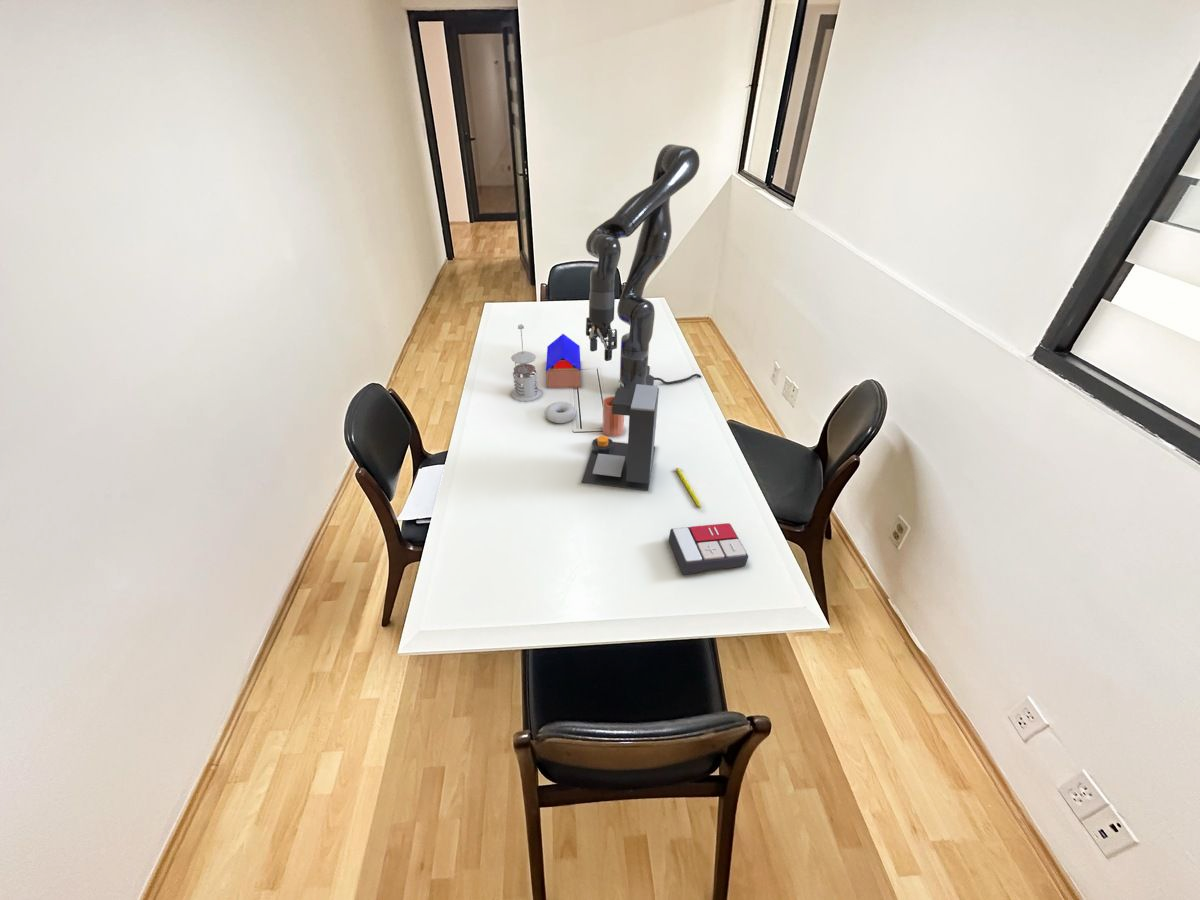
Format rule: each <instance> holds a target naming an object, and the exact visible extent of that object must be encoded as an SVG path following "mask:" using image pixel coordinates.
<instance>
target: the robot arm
mask: <svg viewBox="0 0 1200 900" xmlns="http://www.w3.org/2000/svg"><path fill="white" fill-rule="evenodd" d="M700 162H701V160H700V155H699V153H698V151H697V150H696V149H695V148H694V147H691V146H687V145H680V144H674V143H670V144H665V145H664V146H663V147H662V148H661V149H660V150H659V153H658V155H657V157H656V161H655V165H654V170H653V174H652V175H653V176H652V181H651V184H650V185H649V186H648V187H646V188H644V189H642V190H640V191H639V192H637V193H636V194H634V195H633V196H631V197H629V199H628V200H626V202H624V204H623V205H622V206H621V207H620V208H619V209H618V210H617V211H616V212H615V214H614V215H613V216H611V217H610V218H609V219H607V220H605V221H604V222H602V223H601V224H600V225H598V226H597V227H596V228H594V229H593V230H592V231H591V232H590V234H589V235H588V237H587V238H586V242H585V248H586V249H585V250H586V252H587V253H588V254H589V255H590V256H591V257H594V258H596V259H598V263H597V266H595V267H593V268H592V269H591V271H590V275H589V276H590V279H589V281H590V282H589V295H588V317H586V318H585V319H586V320H585V321H586V322H585V335H586V337H588V339H589V351H590V352H597V350H598V339H600V342H601V343H602V344H603V347H604V357H603V358H604V361H605V362H610V361H612V359H613V350H617V348H618V330H617V329H616V328H614V329H612V327H611V326H612V325H611V324H612V322H613V321H614V319H615V300H616V298H615V297H616V295H615V281H616V279H615V278H616V277H615V275H616V272H617V269H618V265H619V261H620V259H621V252H622V248H621V243H620V240H619V239H624V238H625V239H626V238H629V237H631V236H632V234H634V233H635V231H636V230H637V229H638V228H639V227H640V226H641V229H640V232H639V234H638V235H639V237H638V240H637V243H636V246H635V247H636V248H635V251H634V255H633V259H632V263H631V264H630V265H631V266H630V269H629V272H628V276H627V279H626V281H625V284H624V287H623V289H622V293H621V294H620V297H619V300H618V304H617V309H616V311H617V312H616V313H617V317H618V319H619V320H620V321H621V322H623V323H625V324H626V325H629V332H627V333H625V334H623V335H622V336H621V338H620V339H621V340H620V358H619V359H620V360H619V379H618V384H619V386H618V388H623V389H634V390H635V387H636V384H640V385H651V386H655V385H654V384H655V381H659V382H661V383H663V385H664V384H665V385H673V384H678V383H682V382H686V381H689V380H691V379H693V378H694V377H697V378H702V375H701V374H699V373H694V374H691V375H690V376H688V377H685V378H682V379H678V380H672V381H666V380H664V378H661V377H655V376H653V375H651V373H650V371H651V367H650V365H649V354H650V353H649V352H650V342H651V340H652V338H653V332H654V325H655V318H656V317H655V316H656V314H655V312H656V311H655V306H654V304H653V303H652V301H650V300H649V299H646V298H644V297H643V294H644V290H645V287H646V284H647V282H648V281H649V278H650V277H651V276H652V274H653V273H654V272H655V271H656V270H657V269H658V268H659V266H660V265H661V264H662V263H663V261H664V260H665V258H666V256H667V252H668V249H669V246H670V242H671V239H672V233H673V225H672V217H671V209H670V202H671V197H673V196H674V195H676V193H678V192H679V191H680V190H681V189H683V188H684V187H685V186H686V185H688V184H689V183H690V182H691V181H692V180H693V179H694V178H695V176H696V175H697V173H698V172H699V170H700V169H699V168H700Z"/></svg>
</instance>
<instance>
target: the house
mask: <svg viewBox="0 0 1200 900" xmlns="http://www.w3.org/2000/svg"><path fill="white" fill-rule="evenodd" d="M581 363H582V362H581V347H580V345H579V344H578V343H576V342H575V341H574V340H573V339H571V338H570V337H568V336H567V335H566V334H565V333H562V334H561V335H559V336H558V337H557V338H556V339H554V341H553V342H551V343H550V344H549V345H547V348H546V362H545V372H546V377H547V378H546V380H547V382H546V383H547V389H560V388H561V389H565V388H566V389H567V388H569V389H570V388H581V371H582V367H581V366H582V364H581Z"/></svg>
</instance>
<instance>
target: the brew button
mask: <svg viewBox="0 0 1200 900" xmlns="http://www.w3.org/2000/svg"><path fill="white" fill-rule="evenodd" d="M596 438H597V445H598V446H600V447H606V446H608V438H609V436H607V435H605V434H604V435H603V434H602V435H599V436H597V437H596Z"/></svg>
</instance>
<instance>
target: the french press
mask: <svg viewBox="0 0 1200 900" xmlns="http://www.w3.org/2000/svg"><path fill="white" fill-rule="evenodd" d="M517 329H518V330H520V337H521V340H523V331H522V330H523V329H525V326H524V324H518V325H517ZM521 349H522V350H521V351H518V352H516V353H514V354H512V355H511V356H510V360H511V361H512V362H514V368H513V372H512V376H513V387H514V390H513V392H512V395H511V396H512V398H513V399H514V400H516V401H520V402H532V401H535V400H537V399H538V398H540V397H541V395H542V393H541V390H539V389H538V374H537V373H538V372H537V370H536V366H535V365H533V364H531V363H533V362H534V361H536V358H537V356H536V355H535V354H534V353H533V352H531V351H526V350H524V341H521ZM521 375H522V377H521Z"/></svg>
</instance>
